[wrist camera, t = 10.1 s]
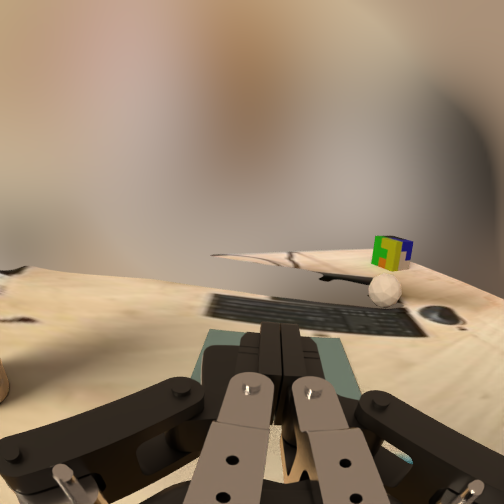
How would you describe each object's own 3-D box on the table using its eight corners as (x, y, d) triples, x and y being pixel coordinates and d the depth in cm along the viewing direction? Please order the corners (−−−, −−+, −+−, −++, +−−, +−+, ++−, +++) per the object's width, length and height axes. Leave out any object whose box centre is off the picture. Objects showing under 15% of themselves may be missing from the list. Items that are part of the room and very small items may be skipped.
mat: (179, 409, 31) (179, 407, 31) (209, 330, 50) (209, 329, 50) (368, 419, 30) (369, 417, 30) (338, 339, 49) (339, 338, 49)
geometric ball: (376, 312, 67) (384, 282, 70) (403, 312, 60) (410, 280, 63) (357, 300, 65) (366, 268, 67) (385, 300, 58) (393, 265, 60)
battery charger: (263, 432, 29) (254, 365, 40) (268, 412, 28) (257, 344, 38) (199, 431, 28) (202, 364, 39) (198, 411, 27) (202, 342, 37)
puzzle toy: (408, 269, 98) (413, 241, 95) (391, 271, 93) (396, 242, 91) (388, 261, 106) (392, 235, 104) (371, 263, 102) (375, 235, 100)
